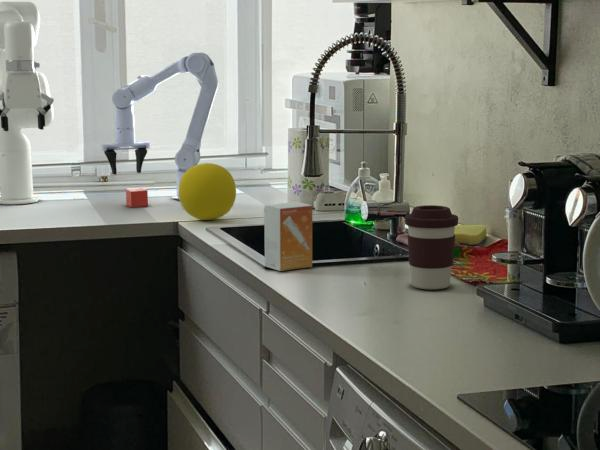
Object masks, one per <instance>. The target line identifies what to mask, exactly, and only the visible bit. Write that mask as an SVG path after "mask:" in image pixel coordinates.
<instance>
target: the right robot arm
mask: <svg viewBox="0 0 600 450" xmlns="http://www.w3.org/2000/svg"><path fill="white" fill-rule="evenodd" d="M182 73H183V74H187V73H189V74H191V75H192V77H194V78H195V79H196V81H197V82H198V84H199V86H200V89H199V93H198V96H197V99H196V102H195V106H194V109H193V113H192V116H191V119H190V121H189V125H188V129H187V132H186V135H185V138H184V140H183V142H182V143H181V146H180V149H179V150H178V151H177V152H176V153H175V156H174V162H175V165H176V166H177V167H176V168H175V169H176V170H175V174H176V175H175V176H176V179H175V180H176V181H175V182H176V196H171V197H170V199H173V200H179V201H180V198H179V184H180V181H181V178H182V176H183V175H184V173H185V172H186V171H187V170H188V169H190V168H191V167H193V166H195V165H198V164H199V163H200V160H201V152H200V151H201V147H202V140H203V137H204V133H205V131H206V127H207V125H208V121H209V118H210V114H211V112H212V108H213V105H214V101H215V98H216V95H217V92H218V90H219V85H220V84H219V80H218V76H217V72H216V68H215V63H214V62H213V60H212V58H211V57H210V56H209V55H208V54H206V53H205V52H192V53H190V54H189V55H186V56H183V57H181V58H179V59H176V60H175V61H173V62H172V63H170V64H168V65H167V66H166V67H164V68H161V70H159V71H157V72H155V73H154V74H153V75H148V74H144V75H142V74H140V75H138V76H137V77H136V78H137V79H135V80H133V81H132V82H130V83H126V84H124V85H123V87H124V88H118V89H116V90H115V92H114V93H113V94H112V103H113V105H114V125H115V126H114V127H115V128H114V129H115V142H112V143H101V144H100V146H101V148H100V149H101V151H102V152H103V153H104V155H105V156H106V159H107V160H108V164H109V166H110V169H111V174H112V175H117V171H118V170H117V152H116V151H123V150H134V153H135V154H134V155H135V160H136V161H135V163H136V164H135V165H136V166H135V167H136V168H135V169H136V173H137V174H141V173H142V168H143V164H144V161H145V158H146V156H147V154H148V149H150V144H151V143H150V141H136V131H135V130H136V129H135V128H136V127H135V112H134V104H136V102H139V101H141V100H143V99H144V98H147V97H148V96H150V95H152V94H153V93H156V89H157V86H158V85H160V84H162V83H164V82H165V81H168V80H169V79H171V78H173V77H175V76H176V75H178V74H182Z"/></svg>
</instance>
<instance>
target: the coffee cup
mask: <svg viewBox="0 0 600 450" xmlns="http://www.w3.org/2000/svg"><path fill="white" fill-rule="evenodd" d="M404 225H406V226H407V227H408V228H407V230H408V233H407V251H408V253H407V254H408V264H409V265H410V267H409V268H410V282H411V286H413V287H414V288H416V289H421V290H431V291H432V290H442V289H443V290H444V289H446V288H448V287H450V285H451V279H452V266H453V265H454V255H455V244H456V243H455V242H456V235H455V229H456V228H455V227H456V226H458V225H459V216H458V215H456V214H453V213H452V211H451V208H450V207H448V206H444V205H437V204H436V205H434V204H433V205H431V204H429V205H426V204H425V205H418V206H414V207H413V208H412V210H411V213H408V214H406V215H405V216H404Z"/></svg>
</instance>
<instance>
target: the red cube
mask: <svg viewBox="0 0 600 450" xmlns="http://www.w3.org/2000/svg"><path fill="white" fill-rule="evenodd" d="M148 192H149V191H148V189H145V188H141V187H140V188H128V189H127V188H126V189H125V201H126V202H125V203H126V206H127V207H130V208H142V207H149V198H148V197H149V195H148Z"/></svg>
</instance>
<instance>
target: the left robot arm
mask: <svg viewBox="0 0 600 450" xmlns="http://www.w3.org/2000/svg"><path fill="white" fill-rule="evenodd" d="M40 26H41V15H40V11H39V8H38V6H37V5H36V4H35V3H34V2H31V1H0V205H25V204H26V205H27V204H33V203H38V202H39V201H40V197H39V196H38V195H34V181H33V162H32V144H31V141H30V140H29V138H28V137H27V136H26V134H24V133H23V132H22V129H35V128H36V129H37V128H38V130H41V131H43V130H45V129H44V128H47V127H49V126H51V125H52V124H53V122H54V118H55V113H54V112H55V111H54V106H53V103H54V101H55V99H54V98H53V97H52V96H51V92H50V88H49V87H50V86H49V83H48V80H47V77H46V76H45V74H44V73H42V72H41V71H37V70H36V69H38V68H40V63H39V62H36V61H35V53H34V51H35V50H34V48H35V47H36V45H37V44H38V43H37V42H38V37H39V31H40Z"/></svg>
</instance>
